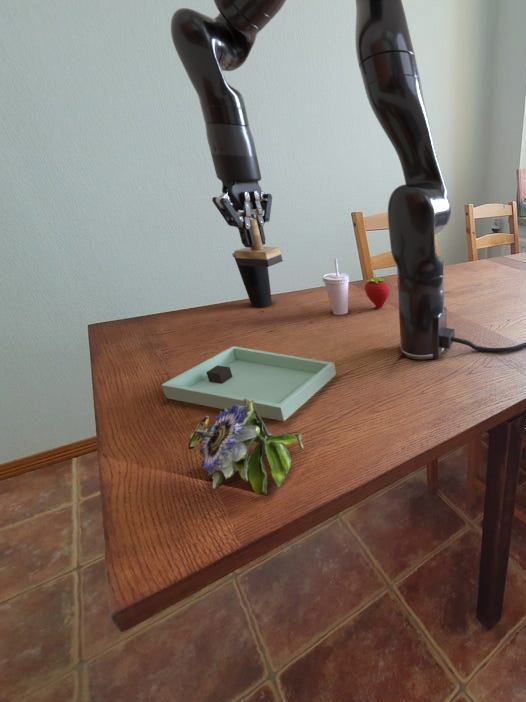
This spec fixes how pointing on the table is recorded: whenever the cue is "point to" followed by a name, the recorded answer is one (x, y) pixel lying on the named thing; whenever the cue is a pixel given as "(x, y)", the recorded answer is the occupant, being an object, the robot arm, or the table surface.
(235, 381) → the tray
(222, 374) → the crumb
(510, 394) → the table surface
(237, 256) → the brush
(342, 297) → the smoothie
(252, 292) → the drinking cup
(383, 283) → the strawberry
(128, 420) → the table surface
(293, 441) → the passion flower
